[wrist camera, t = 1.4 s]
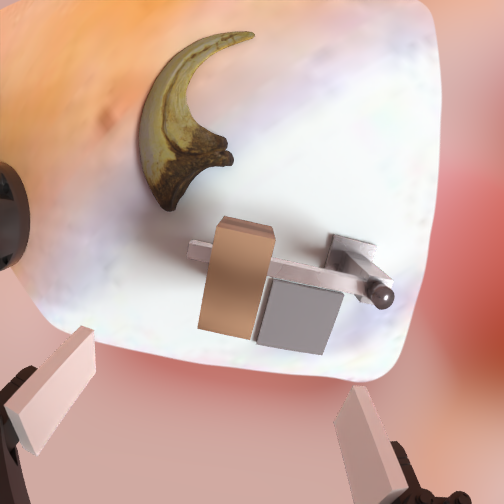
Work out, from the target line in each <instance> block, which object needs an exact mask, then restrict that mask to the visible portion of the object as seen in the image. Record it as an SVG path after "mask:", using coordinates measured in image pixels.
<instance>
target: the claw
mask: <svg viewBox="0 0 504 504" xmlns="http://www.w3.org/2000/svg"><path fill="white" fill-rule="evenodd" d="M254 36H255V34H254V33H253V32H247V31H245V32H230V33H224V34H217V35H213V36H210V37H207V38H203V39H201V40H199V41H197V42H195V43H193V44H191V45H190V46H188V47H187V48H185V49H184V50H182V51H181V52H179V53H178V54H177V55H175V57H174V58H173V59H172V60H171V61H170V62H169V63H168V64H167V65H166V66H165V68H164V69H163V70H162V72H161V73H160V74H159V76H158V77H157V79H156V81H155V82H154V84H153V86H152V89H151V91H150V93H149V95H148V98H147V100H146V102H145V105H144V108H143V112H142V113H143V114H142V116H141V122H140V128H139V150H140V157H141V163H142V168H143V172H144V175H145V177H146V180H147V182H148V185H149V187H150V189H151V191H152V193H153V195H154V196H155V198H156V199H157V201H158V203H159V205H160V206H161V207H162V208H163V209H164V210H165V211H168V212H171V211H174V210H175V209H176V205H177V203H178V201H179V200H180V198H181V197H182V196H183V195H184V193H185V191H186V190H187V188H188V186H189V184H190V183H191V181H192V180H193V179H194V178H195V177H196V176H197V175H198V174H199V173H200V172H202V171H203V170H205V169H206V168H208V167H214V166H220V167H224V166H232V165H233V162H234V158H233V156H232V154H231V153H230V152H229V151H226V148H227V145H228V142H227V140H226V138H225V137H222V136H219V135H216V134H214V133H212V132H210V131H208V130H207V129H205V128H204V127H202V126H200V125H199V124H197V122H196V121H195V120H194V119H193V117H192V116H191V113H190V111H189V108H188V105H187V102H186V89H187V86H188V84H189V82H190V79H191V77H192V76H193V74H194V72H195V70H196V69H197V68H198V67H199V66H200V65H201V64H202V63H203V62H204V61H205V60H206V59H207V58H209V57H210V56H211V55H213V54H214V53H216V52H218V51H220V50H222V49H224V48H227V47H229V46H232V45H234V44H237V43H240V42H242V41H245V40H249V39H252V38H253V37H254Z"/></svg>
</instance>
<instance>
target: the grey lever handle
mask: <svg viewBox="0 0 504 504" xmlns="http://www.w3.org/2000/svg"><path fill="white" fill-rule="evenodd" d="M212 246H213V244H211V243H206V242H202V241H197V240H193V239H192V240H191V241H190V242H189V246H188V251H187V257H186V258H189V259H194V260H198V261H202V262H207V263H209V262H210V256H211V251H212ZM376 249H377V246H376V245H373V244H370V243H366V242H362V241H358V240H354V239H350V238H346V237H342V236H339V235H335V234H334V235H333V239H332V242H331V246H330V249H329V253H328V256H327V260H326V263H325V267H324V269H323V268H319V267H314V266H310V265H305V264H301V263H296V262H292V261H287V260H283V259H278V258H274V257H271V261H270V265H269V268H268V272H267V276H270V277H275V278H280V279H284V280H289V281H294V282H298V283H303V284H308V285H313V286H318V287H322V288H327V289H332V290H337V291H342V292H347V293H352V294H354V295H355V296H356V297H357V299H358V300H359V301H360V302H362V303H367V304H372V305H375V306H376V307H377V308H378V309H386V308H388V307H390V306H391V305H392V303H393V301H394V292H393V291H392V290H391V287H392V284H393V282H394V280H393V279H391V278H390V277H389V276H388V275H387V274H385V273H384V272H383V271H382V270H381V269H379V268H378V267H377V266H376V265H375V264H373V263H372V262H373V259H374V255H375V252H376Z"/></svg>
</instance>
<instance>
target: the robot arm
mask: <svg viewBox="0 0 504 504" xmlns="http://www.w3.org/2000/svg"><path fill="white" fill-rule="evenodd" d="M29 230H30V212H29V204H28V199H27V195H26V191H25V188H24V186H23V183H22V181H21V179H20V177H19V176H18V174H17V173H16V171H15V170H14V169H13V168H12V167H10V166H9V165H7V164H5V163H2V162H0V271H1V270H4V269H6V268H8V267H10V266H13V265H14V264H16V263H17V262H18V261H19V260H20V258H21V257H22V255H23V253H24V251H25V249H26V246H27V242H28V238H29ZM95 373H96V363H95V347H94V330H92V329H89V328H86V327H84V326H80V327H79V328H78V329H77V330H76V331H75V332H74V333H73V334H72V335H71V336H70V337H69V338H68V339H67V340H66V341H65V342H64V343H63V344H62V345H61V346H60V347H59V348H58V349H57V350H56V351H55V352H54V353H53V354H52V355H51V356H50V357H49V358H48V359H47V360H46V361H45V362H44V363H43V364H42V365H41V366H40V367H39V368H36V367H33V366H32V365H31V366H28V367H26V368H24V369H22V370H21V371H20V372H19V373H18V374H17V375H16V377H14V378H13V379H12V380H11V382H9V383H8V384H7V385H6V386H5V387H4V388H3V389H2V390H1V391H0V504H31V503H30V500H29V496H28V493H27V489H26V486H25V482H24V478H23V474H22V469H21V465H20V460H19V455H18V450H17V448H16V444H17V443H18V442H19V441H20V443H21V445H22V447H23V448H24V449H25V450H27V451H28V452H30V453H32V454H33V455H35V456H38V455H39V453H40V452H41V450H42V449H43V447H44V446H45V444H46V443H47V441H48V439H49V438H50V437H51V435H52V434H53V432H54V431H55V429H56V428H57V426H58V425H59V423H60V422H61V420H62V419H63V418H64V416H65V415H66V413H67V412H68V410H69V409H70V408H71V406H72V405H73V403H74V402H75V401H76V399H77V398H78V396H79V395H80V393H81V392H82V391H83V389H84V388H85V387H86V385H87V384H88V382H89V381H90V380H91V378H92V377H93V376H94V374H95ZM333 423H334V426H335V430H336V434H337V437H338V441H339V445H340V449H341V453H342V457H343V461H344V465H345V469H346V473H347V477H348V481H349V485H350V489H351V493H352V497H353V501H354V504H472V502H471V499H470V497H469V495H467V494H466V493H465V492H462V491H456V492H454V493H453V494H452V495H450V496H449V497H448V498H445V497H434V495H433V494H432V493H431V492H430V491H428V490H427V489H423V488H421V487H420V484H419V482H418V480H417V477H416V475H415V473H414V470H413V468H412V466H411V465H410V461H409V459H408V458H407V454H406V453H405V450H404V448H403V447H402V446H401V445H400V444H399V443H398V442H397V441H394V442H393V441H392V442H390V441H389V438H388V436H387V433H386V431H385V429H384V426H383V424H382V422H381V420H380V417H379V416H378V413H377V411H376V408H375V406H374V404H373V401H372V399H371V397H370V395H369V393H368V390H367V388H366V387H365V386H352V388H351V390H350V392H349V394H348V396H347V398H346V400H345V402H344V403H343V406H342V407H341V409H340V411H339V413H338V415H337V416H336V418H335V420H334V422H333Z"/></svg>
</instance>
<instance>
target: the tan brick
mask: <svg viewBox="0 0 504 504" xmlns="http://www.w3.org/2000/svg"><path fill="white" fill-rule="evenodd" d="M275 241H276V239H275V235H274V232H273V228H272V227H271V226H267V225H263V224H258V223H254V222H249V221H245V220H240V219H236V218H231V217H227V216H224V217H223V218H222V220H221V221H220V222H219V224H218V225H217V226H216V231H215V236H214V241H213V246H212V251H211V256H210V262H209V267H208V272H207V277H206V283H205V288H204V294H203V299H202V305H201V311H200V316H199V322H198V329H202V330H206V331H211V332H215V333H220V334H224V335H229V336H234V337H238V338H243V339H248V340H250V338H251V334H252V330H253V326H254V323H255V319H256V315H257V311H258V307H259V304H260V300H261V296H262V292H263V288H264V284H265V280H266V276H267V272H268V268H269V265H270V261H271V257H272V253H273V249H274V245H275Z"/></svg>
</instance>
